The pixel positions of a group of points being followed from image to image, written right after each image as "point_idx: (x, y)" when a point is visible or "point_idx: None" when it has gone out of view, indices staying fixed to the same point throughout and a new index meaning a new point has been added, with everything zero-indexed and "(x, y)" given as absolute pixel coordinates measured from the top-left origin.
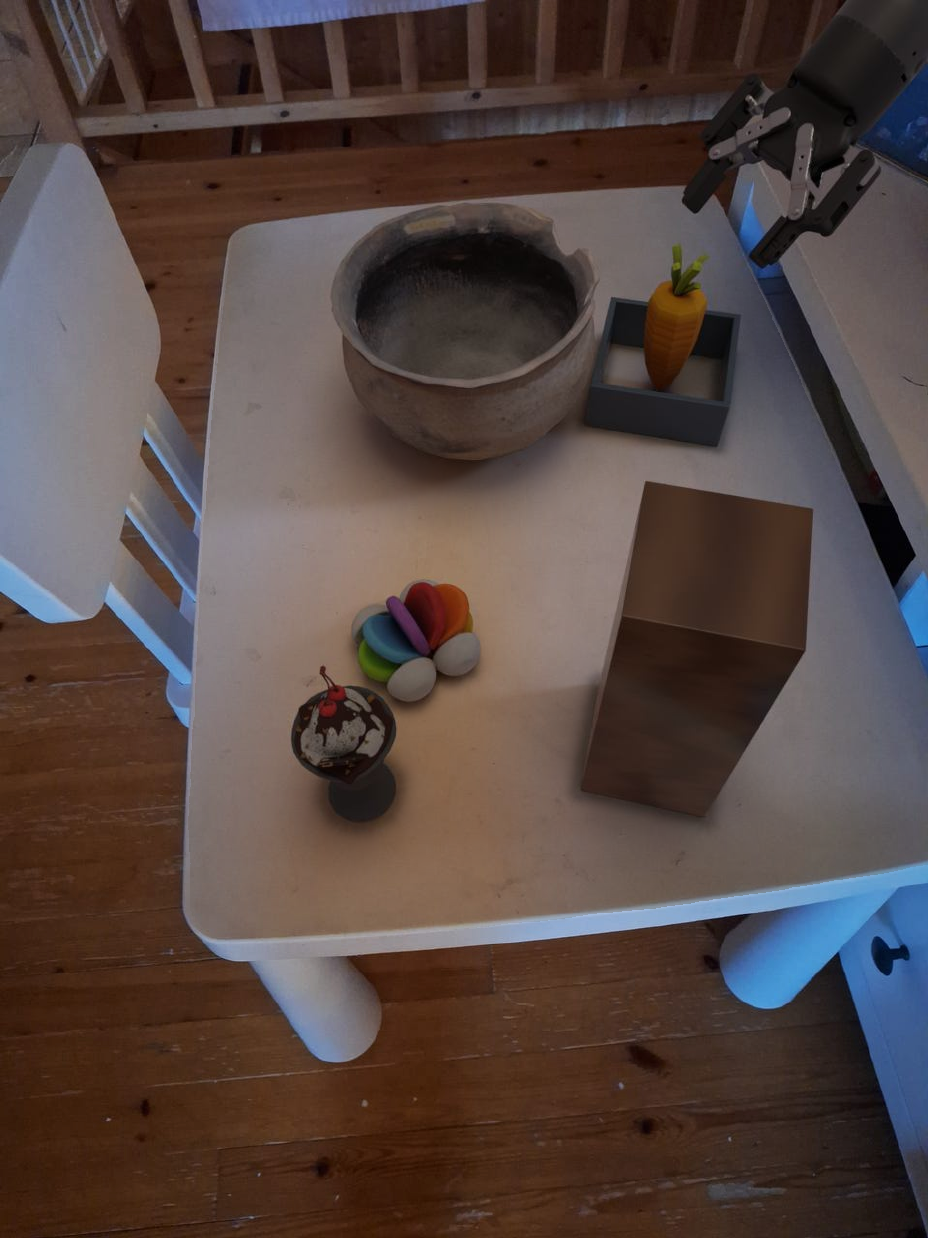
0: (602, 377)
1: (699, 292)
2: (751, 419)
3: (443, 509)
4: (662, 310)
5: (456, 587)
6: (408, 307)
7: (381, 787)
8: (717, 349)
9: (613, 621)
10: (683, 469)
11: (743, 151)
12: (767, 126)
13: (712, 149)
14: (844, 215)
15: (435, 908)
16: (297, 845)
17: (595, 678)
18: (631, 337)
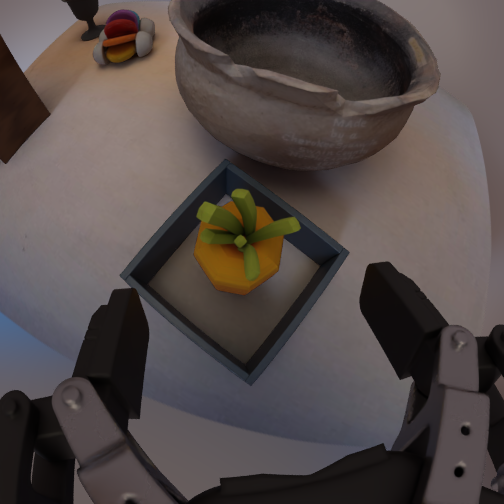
0: None
1: (224, 268)
2: (153, 339)
3: None
4: (225, 204)
5: (119, 38)
6: (374, 80)
7: (87, 35)
8: (251, 360)
9: (21, 70)
10: (132, 239)
11: (423, 411)
12: (444, 496)
13: (468, 335)
14: (32, 479)
15: (46, 50)
16: (96, 20)
17: (53, 113)
18: (311, 281)
